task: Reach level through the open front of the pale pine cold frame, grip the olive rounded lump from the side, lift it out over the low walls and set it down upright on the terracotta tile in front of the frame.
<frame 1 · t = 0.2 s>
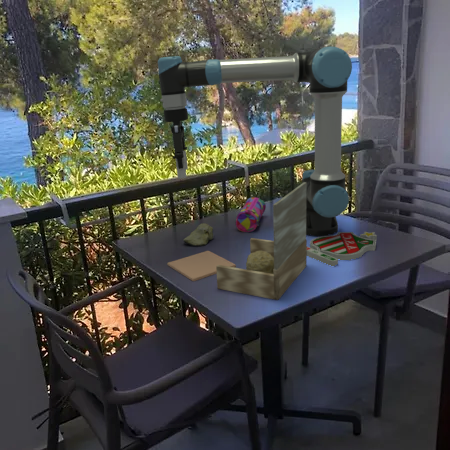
hand: (183, 173, 157), 28 cm above the table, tool pointing down, fingers open, 13 cm apart
decorative emblem: (344, 248, 162), on the table
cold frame: (261, 276, 143), on the table
olive rounded lump: (261, 277, 143), on the table
rock: (199, 242, 174), on the table
pencil case: (251, 225, 190), on the table
terracotta tile: (201, 266, 152), on the table
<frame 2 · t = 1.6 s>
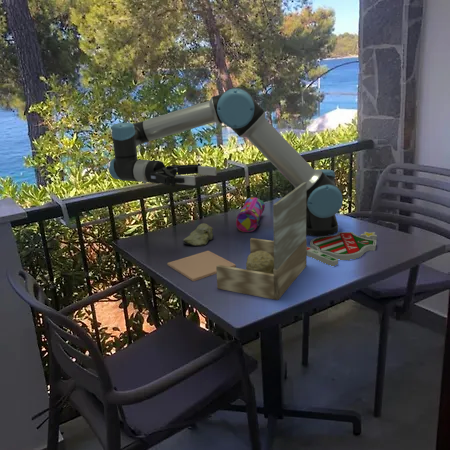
hand: (205, 175, 149), 28 cm above the table, tool horizontal, fingers open, 13 cm apart
nothing on the table moved.
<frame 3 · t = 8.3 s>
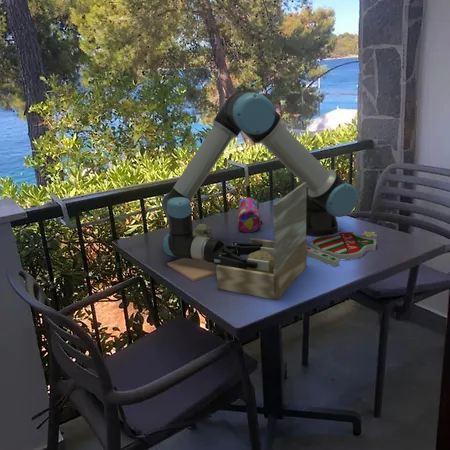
hand: (274, 260, 139), 6 cm above the table, tool horizontal, fingers closed on olive rounded lump, 9 cm apart
olive rounded lump: (261, 277, 143), on the table, touching gripper
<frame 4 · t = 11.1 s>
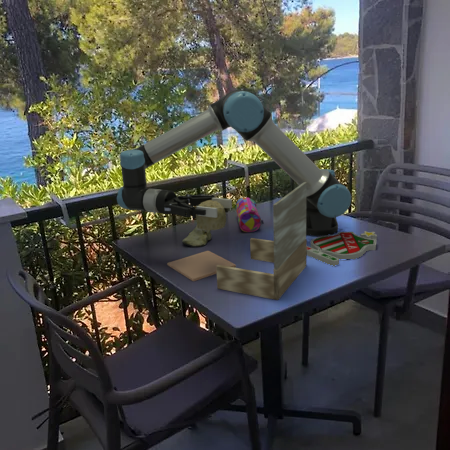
hand: (224, 208, 141), 21 cm above the table, tool horizontal, fingers closed on olive rounded lump, 9 cm apart
olive rounded lump: (211, 226, 145), point 14 cm above the table, touching gripper
when the fingers open (8 cm above the table, at t = 14.2 s): olive rounded lump drops 1 cm, resting on terracotta tile.
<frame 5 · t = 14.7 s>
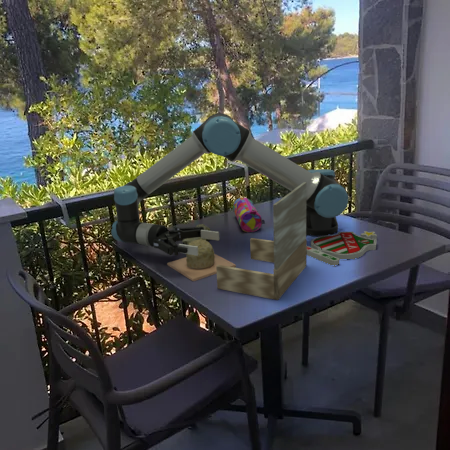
hand: (208, 243, 148), 8 cm above the table, tool horizontal, fingers open, 13 cm apart
olive rounded lump: (200, 264, 152), point 1 cm above the table, touching terracotta tile
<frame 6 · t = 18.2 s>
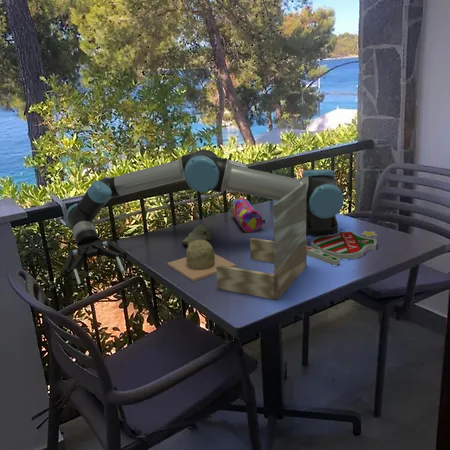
hand: (102, 279, 147), 0 cm above the table, tool tilted 70°, fingers open, 13 cm apart
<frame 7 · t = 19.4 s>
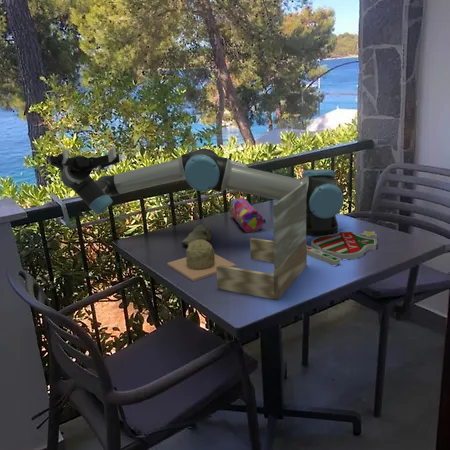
hand: (90, 152, 135), 39 cm above the table, tool pointing upward, fingers open, 13 cm apart
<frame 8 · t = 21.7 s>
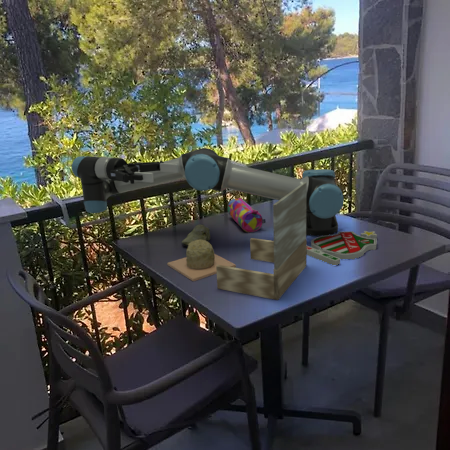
hand: (165, 173, 148), 30 cm above the table, tool horizontal, fingers open, 13 cm apart
at the end: olive rounded lump 0.1 cm from the terracotta tile (horizontally); olive rounded lump tilted 1°; the gripper is holding nothing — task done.
